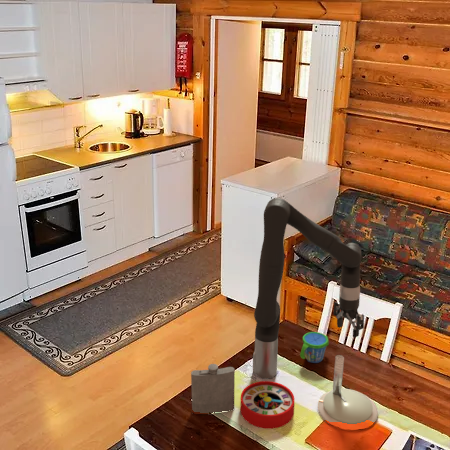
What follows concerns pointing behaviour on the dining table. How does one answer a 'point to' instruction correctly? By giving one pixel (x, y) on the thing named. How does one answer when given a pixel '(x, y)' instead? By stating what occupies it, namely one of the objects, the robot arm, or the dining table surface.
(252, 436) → the dining table surface
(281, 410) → the toy clock
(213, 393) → the hip flask
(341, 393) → the beige disc with handle
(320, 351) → the snack cup
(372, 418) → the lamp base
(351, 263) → the robot arm
